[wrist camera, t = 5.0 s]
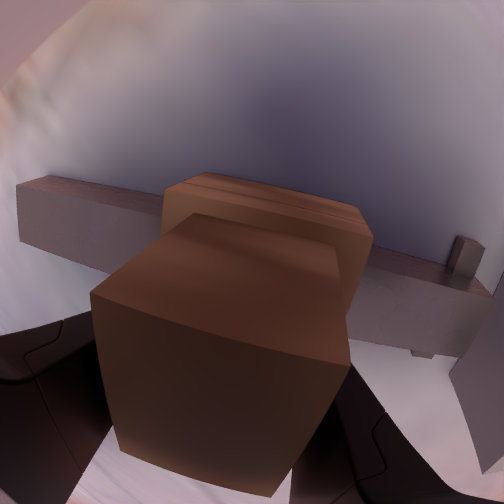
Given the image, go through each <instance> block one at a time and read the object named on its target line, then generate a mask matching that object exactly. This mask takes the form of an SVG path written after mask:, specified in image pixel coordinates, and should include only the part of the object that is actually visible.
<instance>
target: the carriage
mask: <svg viewBox="0 0 504 504" xmlns="http://www.w3.org/2000/svg"><path fill="white" fill-rule="evenodd" d="M373 240H374V236H373V234H372V233H371V231H370V229H369V227H368V225H367V224H366V222H365V220H364V218H363V217H362V215H361V213H360V211H359V210H358V208H357V207H356V206H353V205H349V204H345V203H341V202H337V201H334V200H330V199H326V198H322V197H318V196H314V195H310V194H305V193H301V192H297V191H293V190H288V189H284V188H280V187H275V186H271V185H266V184H262V183H257V182H252V181H248V180H243V179H238V178H233V177H228V176H223V175H218V174H212V173H207V172H205V173H203V174H200V175H198V176H195V177H193V178H190V179H188V180H185V181H183V182H180V183H178V184H176V185H173V186H171V187H168V188H166V189H165V190H164V200H163V211H162V222H161V235H160V238H159V239H157V240H156V241H155V242H153V243H152V244H151V245H149V246H148V247H147V248H145V249H144V250H143V251H141V252H140V253H139V254H137V255H136V256H135V257H134V258H132V259H131V260H130V261H128V262H127V263H126V264H125V265H123V266H122V267H121V268H119V269H118V270H117V271H116V272H114V273H113V274H112V275H111V276H109V277H108V278H107V279H106V280H104V281H103V282H102V283H101V284H99V285H98V286H97V287H96V288H94V289H93V290H92V291H91V292H90V301H91V310H92V319H93V326H94V333H95V340H96V347H97V353H98V359H99V364H100V369H101V375H102V380H103V385H104V389H105V394H106V398H107V403H108V407H109V411H110V415H111V419H112V423H113V426H114V430H115V434H116V437H117V441H118V444H119V447H120V451H122V452H125V453H127V454H129V455H131V456H134V457H136V458H138V459H141V460H143V461H146V462H148V463H151V464H153V465H156V466H158V467H161V468H164V469H166V470H169V471H172V472H175V473H178V474H181V475H184V476H187V477H190V478H193V479H196V480H199V481H203V482H206V483H209V484H213V485H217V486H220V487H224V488H228V489H232V490H236V491H240V492H245V493H249V494H254V495H259V496H264V497H270V498H271V497H272V495H273V494H274V493H275V491H276V490H277V489H278V487H279V486H280V484H281V483H282V482H283V480H284V479H285V477H286V476H287V474H288V473H289V471H290V470H291V468H292V467H293V465H294V464H295V462H296V461H297V459H298V458H299V456H300V455H301V453H302V452H303V450H304V449H305V447H306V445H307V444H308V442H309V441H310V439H311V437H312V436H313V434H314V432H315V431H316V429H317V428H318V426H319V424H320V422H321V421H322V419H323V417H324V416H325V414H326V412H327V410H328V409H329V407H330V405H331V403H332V401H333V400H334V398H335V396H336V394H337V392H338V390H339V389H340V387H341V385H342V383H343V381H344V379H345V377H346V375H347V373H348V371H349V369H350V367H351V361H350V351H349V342H348V333H347V325H346V316H347V313H348V311H349V308H350V306H351V303H352V300H353V298H354V295H355V292H356V290H357V287H358V284H359V281H360V279H361V276H362V273H363V270H364V267H365V264H366V261H367V258H368V255H369V252H370V249H371V246H372V243H373Z"/></svg>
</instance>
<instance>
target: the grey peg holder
mask: <svg viewBox="0 0 504 504" xmlns="http://www.w3.org/2000/svg"><path fill="white" fill-rule="evenodd" d="M493 298H494V299H495V301H494V303H493V305H492V307H491V309H490V311H489V313H488V315H487V317H486V319H485V321H484V323H483V325H482V326H481V328H480V330H479V332H478V334H477V335H476V337H475V339H474V341H473V342H472V344H471V346H470V347H469V349H468V351H467V352H466V354H465V356H464V357H463V358H459V359H458V361H457V363H456V364H455V366H454V367H453V369H452V370H451V372H450V373H449V377H450V379H451V382H452V384H453V387H454V389H455V392H456V394H457V397H458V400H459V402H460V405H461V408H462V411H463V413H464V416H465V419H466V422H467V425H468V428H469V431H470V434H471V437H472V440H473V443H474V447H475V450H476V453H477V457H478V460H479V464H480V468H481V471H482V475H484V474H490V473H495V472H500V471H504V273H503V275H502V278H501V280H500V282H499V285H498V287H497V289H496V291H495V293H494V295H493Z"/></svg>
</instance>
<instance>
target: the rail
mask: <svg viewBox="0 0 504 504" xmlns="http://www.w3.org/2000/svg"><path fill="white" fill-rule="evenodd" d="M16 198H17V215H18V228H19V238H20V241H21V242H24V243H26V244H29V245H31V246H34V247H36V248H39V249H42V250H44V251H47V252H50V253H52V254H55V255H58V256H61V257H63V258H66V259H69V260H72V261H74V262H77V263H80V264H83V265H86V266H89V267H92V268H95V269H97V270H100V271H103V272H106V273H109V274H113V273H114V272H116V271H117V270H118V269H119V268H121V267H122V266H123V265H125V264H126V263H127V262H128V261H130V260H131V259H132V258H134V257H135V256H136V255H137V254H139V253H140V252H141V251H143V250H144V249H145V248H147V247H148V246H149V245H151V244H152V243H153V242H155V241H156V240H157V239H159V238H160V235H161V222H162V211H163V200H164V197H162V196H158V195H153V194H148V193H143V192H137V191H132V190H127V189H122V188H117V187H111V186H106V185H101V184H95V183H90V182H84V181H78V180H73V179H67V178H61V177H55V176H49V175H48V176H45V177H41V178H38V179H34V180H31V181H28V182H24V183H21V184H18V185H16ZM484 250H485V248H484V247H483V246H482V245H481V244H479V243H478V242H476V241H473V240H471V239H468V238H465V237H462V236H459V235H458V236H457V239H456V242H455V244H454V247H453V250H452V253H451V255H450V258H449V260H448V263H447V265H446V266H444V265H441V264H438V263H434V262H431V261H427V260H423V259H420V258H416V257H413V256H409V255H406V254H402V253H398V252H395V251H391V250H387V249H383V248H380V247H376V246H371V249H370V252H369V255H368V258H367V261H366V264H365V267H364V270H363V273H362V276H361V279H360V281H359V284H358V287H357V290H356V292H355V295H354V298H353V300H352V303H351V306H350V308H349V311H348V313H347V316H346V325H347V333H348V338H351V339H356V340H361V341H366V342H371V343H376V344H382V345H387V346H392V347H398V348H403V349H409V350H410V351H411V354H412V356H416V357H423V358H429V359H432V358H433V356H434V354H439V355H446V356H452V357H459V358H463V357H464V356H465V354H466V352H467V351H468V349H469V347H470V346H471V344H472V342H473V341H474V339H475V337H476V335H477V334H478V332H479V330H480V328H481V326H482V325H483V323H484V321H485V319H486V317H487V315H488V313H489V311H490V309H491V307H492V305H493V303H494V301H495V299H494V298H493V297H492V295H491V294H490V293H489V292H488V291H487V290H486V289H485V287H484V286H483V285H482V284H481V283H480V282H479V281H478V280H477V279H476V277H475V276H474V275H475V273H476V270H477V268H478V266H479V263H480V261H481V258H482V255H483V253H484Z"/></svg>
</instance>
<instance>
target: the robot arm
mask: <svg viewBox="0 0 504 504" xmlns="http://www.w3.org/2000/svg"><path fill="white" fill-rule="evenodd" d="M112 425H113V423H112V419H111V415H110V411H109V407H108V403H107V398H106V394H105V389H104V385H103V380H102V375H101V369H100V364H99V359H98V353H97V347H96V340H95V333H94V326H93V319H92V310H91V311H88V312H85V313H82V314H78V315H75V316H72V317H69V318H66V319H64V320H59V321H56V322H53V323H50V324H47V325H43V326H40V327H36V328H32V329H28V330H24V331H20V332H15V333H11V334H6V335H2V336H0V504H66V502H67V500H68V498H69V497H70V495H71V493H72V492H73V490H74V488H75V487H76V485H77V483H78V482H79V480H80V478H81V476H82V475H83V474H82V473H84V471H85V469H86V468H87V466H88V464H89V463H90V461H91V460H92V458H93V456H94V455H95V453H96V451H97V450H98V448H99V446H100V445H101V443H102V441H103V440H104V438H105V437H106V435H107V433H108V432H109V430H110V428H111V427H112ZM289 504H504V502H499V501H493V500H488V499H483V498H478V497H474V496H469V495H465V494H462V493H460V492H457V491H455V490H454V489H452V488H451V487H449V486H448V485H447V484H446V483H445V482H444V481H443V480H442V479H441V478H440V477H439V476H438V475H437V473H436V472H435V471H434V470H433V469H432V468H431V467H430V465H429V464H428V463H427V462H426V461H425V460H424V459H423V458H422V456H421V455H420V454H419V453H418V452H417V451H416V450H415V448H414V447H413V446H412V445H411V444H410V442H409V441H408V440H407V439H406V438H405V436H404V435H403V434H402V432H401V431H400V430H399V428H398V427H397V426H396V424H395V423H394V422H393V420H392V419H391V417H390V416H389V415H388V413H387V412H385V409H384V408H383V406H382V405H381V404H380V402H379V401H378V399H377V398H376V396H375V395H374V394H373V392H372V391H371V389H370V388H369V387H368V385H367V384H366V382H365V381H364V380H363V378H362V377H361V375H360V374H359V373H358V371H357V370H356V368H355V367H354V366H353V364H352V363H351V367H350V369H349V371H348V373H347V375H346V377H345V379H344V381H343V383H342V385H341V387H340V389H339V390H338V392H337V394H336V396H335V398H334V400H333V401H332V403H331V405H330V407H329V409H328V410H327V412H326V414H325V416H324V417H323V419H322V421H321V422H320V424H319V426H318V428H317V429H316V431H315V432H314V434H313V436H312V437H311V439H310V441H309V442H308V444H307V445H306V447H305V449H304V450H303V452H302V453H301V455H300V456H299V458H298V459H297V461H296V462H295V464H294V465H293V467H292V477H291V489H290V500H289Z"/></svg>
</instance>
